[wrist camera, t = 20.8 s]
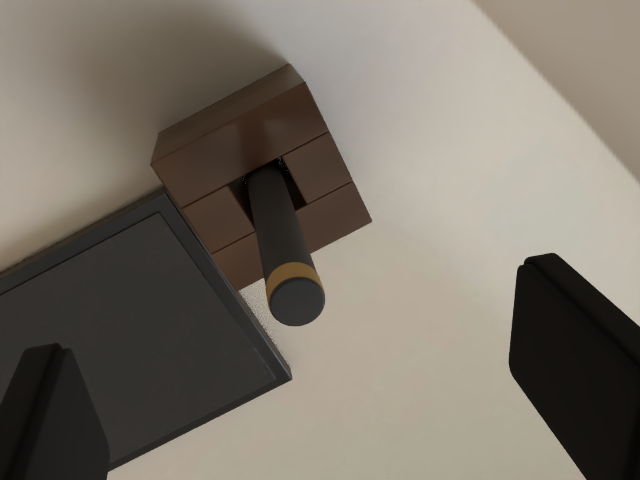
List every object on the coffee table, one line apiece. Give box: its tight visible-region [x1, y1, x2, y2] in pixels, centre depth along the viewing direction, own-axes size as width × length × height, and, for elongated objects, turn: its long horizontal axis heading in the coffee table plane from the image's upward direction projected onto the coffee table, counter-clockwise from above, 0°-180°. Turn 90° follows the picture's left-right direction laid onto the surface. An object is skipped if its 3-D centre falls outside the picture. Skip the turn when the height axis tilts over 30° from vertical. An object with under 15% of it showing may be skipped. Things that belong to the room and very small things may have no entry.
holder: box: [150, 64, 372, 291], centre depth 23 cm, size 6×6×4 cm
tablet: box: [0, 187, 292, 472], centre depth 27 cm, size 12×16×1 cm
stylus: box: [245, 159, 325, 326], centre depth 19 cm, size 1×1×12 cm
